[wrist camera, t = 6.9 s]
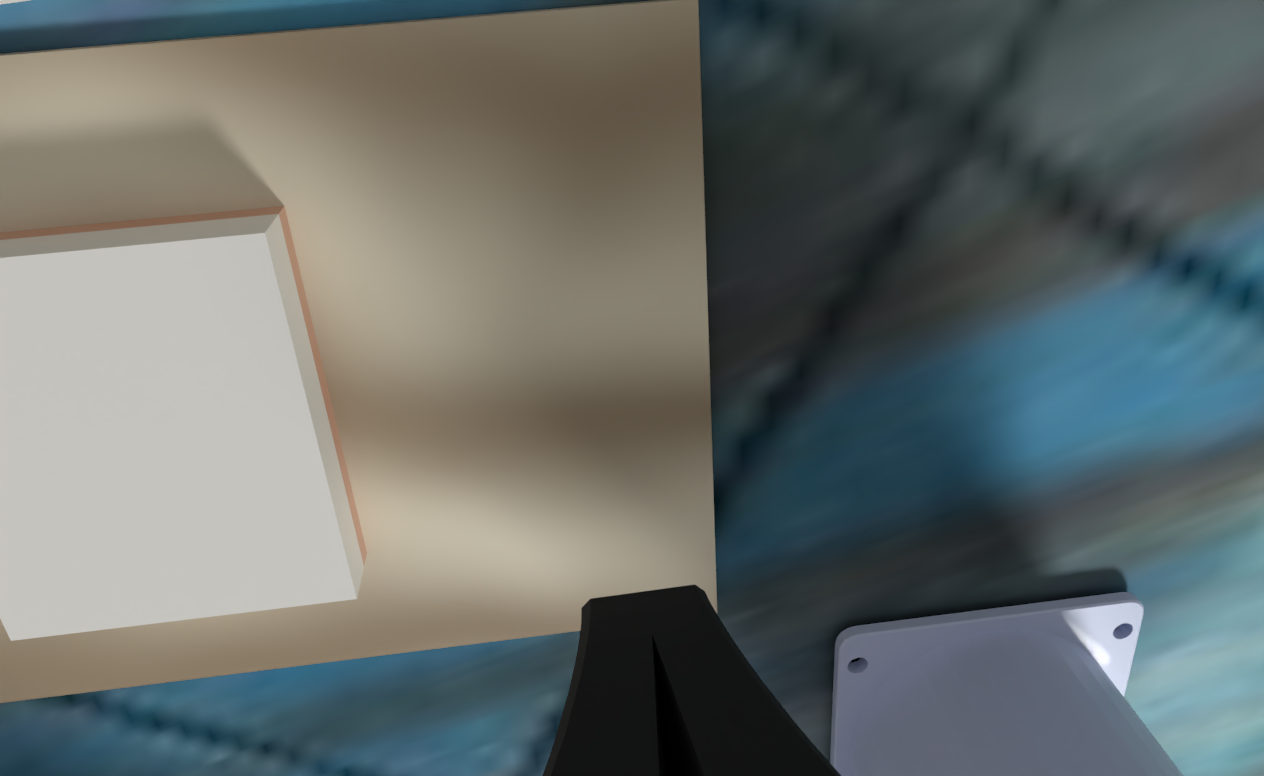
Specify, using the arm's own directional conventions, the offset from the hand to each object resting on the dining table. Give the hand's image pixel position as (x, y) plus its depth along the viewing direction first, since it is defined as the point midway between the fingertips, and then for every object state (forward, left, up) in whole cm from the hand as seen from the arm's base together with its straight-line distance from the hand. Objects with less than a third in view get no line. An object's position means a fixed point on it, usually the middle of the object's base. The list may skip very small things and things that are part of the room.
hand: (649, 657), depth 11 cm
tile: (-1, +5, -9) cm, 10 cm away
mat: (-1, +7, -10) cm, 12 cm away
